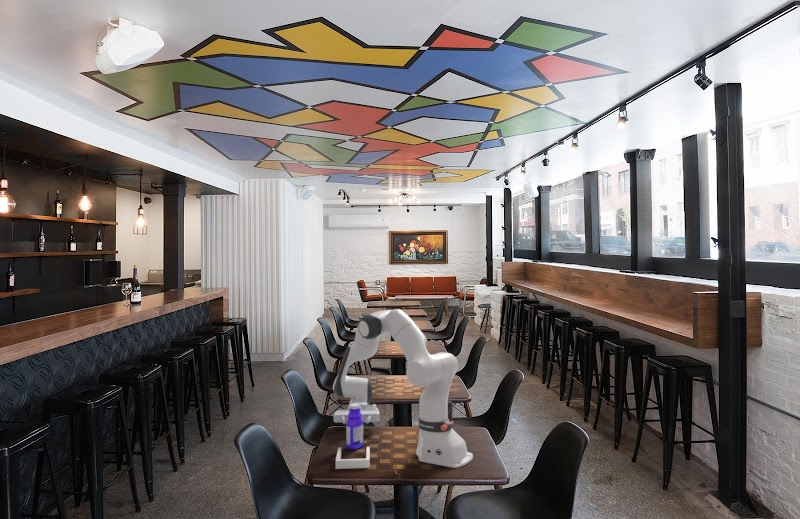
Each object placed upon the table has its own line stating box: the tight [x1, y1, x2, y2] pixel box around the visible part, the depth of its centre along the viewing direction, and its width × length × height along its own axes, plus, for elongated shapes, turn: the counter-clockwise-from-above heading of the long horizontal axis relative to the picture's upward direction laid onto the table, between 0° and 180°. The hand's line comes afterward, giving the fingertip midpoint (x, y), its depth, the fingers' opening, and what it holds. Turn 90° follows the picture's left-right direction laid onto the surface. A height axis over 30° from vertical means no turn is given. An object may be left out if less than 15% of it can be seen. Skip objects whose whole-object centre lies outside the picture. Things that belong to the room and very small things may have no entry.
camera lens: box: [448, 398, 454, 428], centre depth 210 cm, size 8×8×15 cm
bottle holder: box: [335, 446, 371, 470], centre depth 183 cm, size 12×12×3 cm
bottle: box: [345, 403, 364, 450], centre depth 197 cm, size 7×6×17 cm
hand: (356, 421), depth 206 cm, fingers open, 8 cm apart
